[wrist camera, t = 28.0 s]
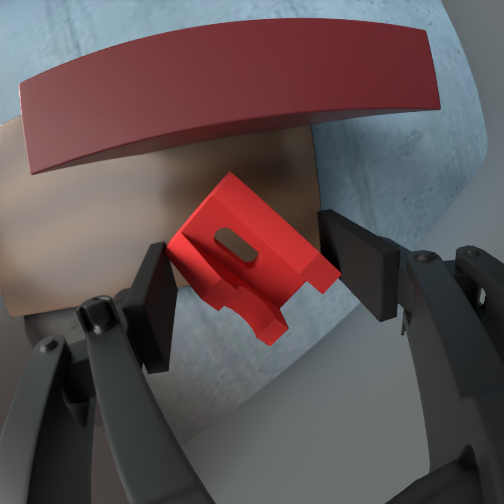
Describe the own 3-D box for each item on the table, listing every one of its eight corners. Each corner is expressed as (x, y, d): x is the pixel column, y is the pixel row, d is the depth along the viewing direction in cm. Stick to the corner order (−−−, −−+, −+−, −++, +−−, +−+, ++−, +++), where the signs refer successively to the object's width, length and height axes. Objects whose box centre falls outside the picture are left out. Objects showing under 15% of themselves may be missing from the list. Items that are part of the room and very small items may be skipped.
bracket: (319, 252, 17) (341, 273, 14) (259, 315, 18) (270, 346, 15) (229, 171, 15) (236, 177, 12) (166, 245, 16) (159, 268, 13)
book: (293, 127, 22) (441, 110, 7) (142, 154, 21) (26, 177, 6) (287, 95, 21) (426, 29, 6) (136, 121, 20) (14, 84, 5)
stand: (321, 253, 27) (325, 257, 26) (15, 313, 24) (11, 317, 24) (294, 52, 21) (298, 49, 20) (-32, 146, 19) (-39, 146, 18)
